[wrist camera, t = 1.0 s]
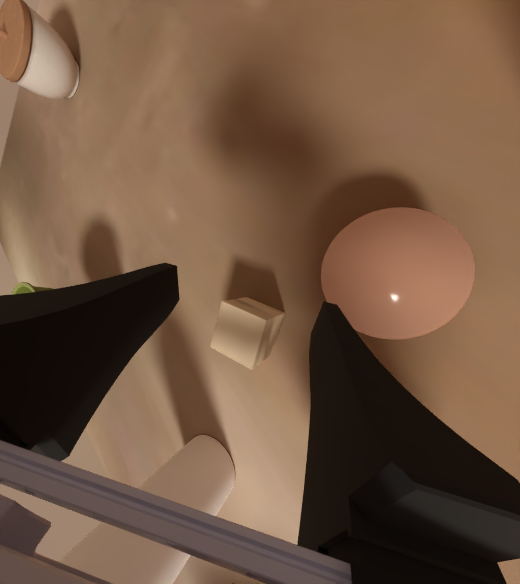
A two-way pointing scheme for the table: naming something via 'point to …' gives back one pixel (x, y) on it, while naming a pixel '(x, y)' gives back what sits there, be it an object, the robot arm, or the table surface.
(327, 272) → the salmon pink cylinder
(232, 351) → the maple cube
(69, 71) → the lidded jar
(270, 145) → the table surface
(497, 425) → the table surface
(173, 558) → the bottle
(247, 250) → the table surface
